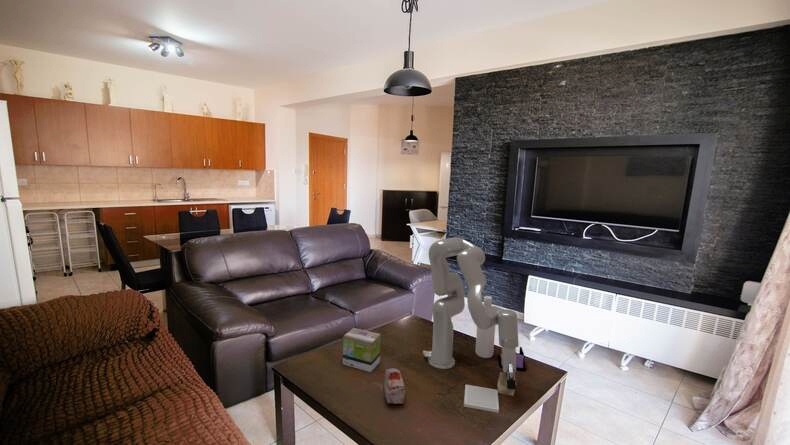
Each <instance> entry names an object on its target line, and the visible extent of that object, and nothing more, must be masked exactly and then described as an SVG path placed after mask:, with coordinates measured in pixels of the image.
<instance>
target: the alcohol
mask: <svg viewBox="0 0 790 445" xmlns="http://www.w3.org/2000/svg"><path fill="white" fill-rule="evenodd" d="M483 306H484V309H485V308H488V307H490V306H493V297H492V296H490V295H485V296H484V297H483ZM495 335H496V325H494V326H492V327H490V328H488V329H480V328H478V327H477V326H476V336H475V354H476V355H477V356H478V357H480V358H483V359H490V358H492V357H493V355H494V351H495V350H494V348H495Z"/></svg>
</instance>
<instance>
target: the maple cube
mask: <svg viewBox="0 0 790 445" xmlns="http://www.w3.org/2000/svg"><path fill="white" fill-rule="evenodd" d="M515 381H516V382H517V379H516V378H515ZM496 385H497V391H498V394H502V395H505V396H512V397H514V396H515V395H514V394H515V391H516V389H515V390H513V389H507V376H506V372H503V371H500V372H499V376H498V380H497V384H496Z"/></svg>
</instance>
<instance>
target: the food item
mask: <svg viewBox="0 0 790 445" xmlns="http://www.w3.org/2000/svg"><path fill="white" fill-rule="evenodd" d="M383 378H384V379H383V386H384V387H383V388H384V390H383V391H384V396H385V399H386V402H387V403H388V404H391V405H392V404H393V405H394V404H395V405H399V404H400V405H402V404H404V402H405V395H406V389H405V383H404V379H403V377H402V373H401V370H400V369H398V368H393V367H392V368H387V369H384V375H383Z"/></svg>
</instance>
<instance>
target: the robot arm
mask: <svg viewBox="0 0 790 445" xmlns="http://www.w3.org/2000/svg"><path fill="white" fill-rule="evenodd" d="M454 256H456V261H457V264H458V266H459V269H460V272H461V274H462V277H463V280H464V282H465V284H466V287H467V295H466V296H467V297H466V299H467V301H465V292H464V291H465V290H464V284H463V281H462V278H461V277H460V275H459V274H457V272H450V265H449V262H448V261H447V259H446V258H450V257H454ZM428 259H429V264H430V268H431V269H430V270H431V273H430V274H431V281H432V290H433V292H434V294H435V295H436V296H438V297H441V298H439V299H437V300H436V301H434V302H433V304H432V307H431V313H432V319H433V320H432V323H433V324H432V345H431V346H432V348H431V350H422V355H424V358H427V359H428V364H429V365H430V366H432V367H434V368H436V369H441V370H446V369H447V370H448V369H451V368H453V367H454V366H455V364H456V360H455V358H454V357H453V342H454V324H453V322H452V318H454V317H455V316H456V315H459V314H461V313H462V312H464V309H465V304H466V303H465V302H467V309H468V311H469V314H470V316H471V319H472V321H473V323H474V325H475V326H476V328H477V327H478V328H480V329H488V328H490V327H492V326H494V325H495V326H497V327H498V328H497V329H498V346H500V347H501V354H502V363H503V368H502V372H503V373H506V376H507V389H513V390H515V391H516V389H517V388H516V387H517V380H516V381H515V379H516V375H515V373H517V370H516V355H517V349H516V348H518V347H520V344H519V328H518V324H519V323H518V315H517V312H516V311H515V310H512V309H504V308H501V307H500V306H496V305H492V306H490V307H488V308H485V309H484V306H483V304H484V302H483V299H482V297H483V296H482V295H483V291H484V289H485V287H486V284H487V277H486V276H485V274H484V271H483V269H482V267H481V266H482V265H483V264H484V263H485V261H486V255H485V253H484V251H483V250H482V249H481V248H480V247H479V246H476V245H475V244H473V243H471V242H469V241H468V240H466V239H463V238H461V237H457V236H455V237H449V238H442V239H439V240H437V241H435V242H433V243H432V244H431V245H430V247H429V249H428ZM443 296H444V297H443Z"/></svg>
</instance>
